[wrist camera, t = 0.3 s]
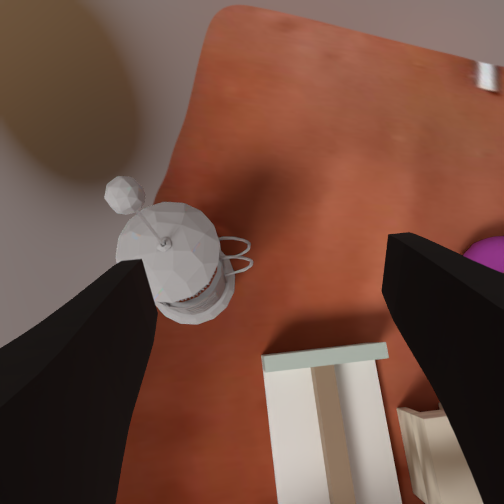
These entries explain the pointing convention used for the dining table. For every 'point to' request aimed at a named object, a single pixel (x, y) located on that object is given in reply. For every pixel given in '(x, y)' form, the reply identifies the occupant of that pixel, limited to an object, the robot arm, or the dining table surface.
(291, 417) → the board
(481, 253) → the donut
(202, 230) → the french press
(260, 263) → the dining table surface
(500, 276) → the robot arm
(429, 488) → the saddle block
